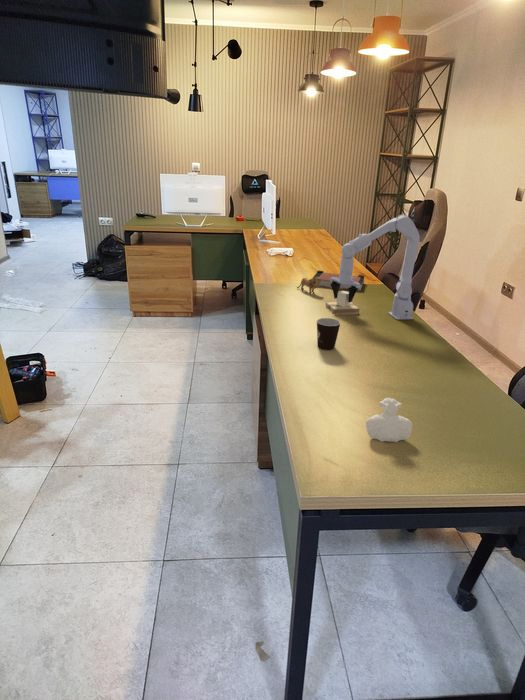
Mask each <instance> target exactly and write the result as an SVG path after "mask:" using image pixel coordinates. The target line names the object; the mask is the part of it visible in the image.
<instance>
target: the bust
mask: <svg viewBox="0 0 525 700" xmlns="http://www.w3.org/2000/svg"><path fill="white" fill-rule="evenodd" d="M402 405H403V403H401V402H400V401H397V400H396V399H395V398H392V397H385V398H384V399H383V400H381V401H379V406H380V409H381V410H383V412H382V413H381V414H373V415H372V416H370V417H369V418H368V419H367V420H366V421H365V425H366V426H365V428H366V432H367V435H368V437H369V438H371V439H374V440H378V441H380V442H390V443H391V442H393V443H397V442H399V441H404V440H407V439H408V438H409V437H410V435H411V434H412V431H413V422H412V421H411V420H410V419H409V418H407V417H404V416H403V415H397V414H396V413H398V412H399V409H401V406H402Z"/></svg>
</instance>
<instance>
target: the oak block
mask: <svg viewBox="0 0 525 700" xmlns="http://www.w3.org/2000/svg"><path fill="white" fill-rule="evenodd" d="M336 304H337V300H336V301H325V306H326V307H327V308H328V309H329V310H330V311H331V312H332V313H333V314H332V313H331V312H330V311H329V312H330V313H331V314H332V315H334V314H341V315H342V314H347V315H359V314H360V310H361V309H360V308H359V307H358V306H357V305H355V304H354V303H353V301H352V302H350V305H349V306H347V307H342V306H339V305H336ZM325 306H324V307H325ZM326 307H325V308H326ZM327 308H326V309H327ZM328 309H327V310H328ZM341 315H340V316H341ZM342 316H343V315H342Z"/></svg>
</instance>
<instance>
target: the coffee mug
mask: <svg viewBox="0 0 525 700" xmlns="http://www.w3.org/2000/svg"><path fill="white" fill-rule="evenodd" d="M340 326H341V321H339V320H338V319H336V318H331V317H321V318H318V319H317V320H316V339H317V348H318V347H319V348H318V349H320V350H324V351H333V350H335V347H336V343H337V339H338V335H339V331H340Z"/></svg>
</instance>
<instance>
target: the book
mask: <svg viewBox="0 0 525 700" xmlns="http://www.w3.org/2000/svg"><path fill="white" fill-rule="evenodd" d="M315 277H319V278H320V280H321V281H322V283H321V284H320V285H319V286H318V287H320V286H324V287H323V288H329V287H331V283H332V282H330V278H331V277H336V278H339V274H338V273H330V272H324V270H317V271H316V273H315V275H313V277H312V278H315ZM352 281H355V282H357V283H360V288H359V289H358V290H357V291H358V292H362V289H363V286H364V283H365V275H363V274H358V276H357V275H352ZM349 287H351V286H348V285H344V284H340V288H339V290H346V289H348V288H349ZM357 291H356V292H357Z"/></svg>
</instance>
